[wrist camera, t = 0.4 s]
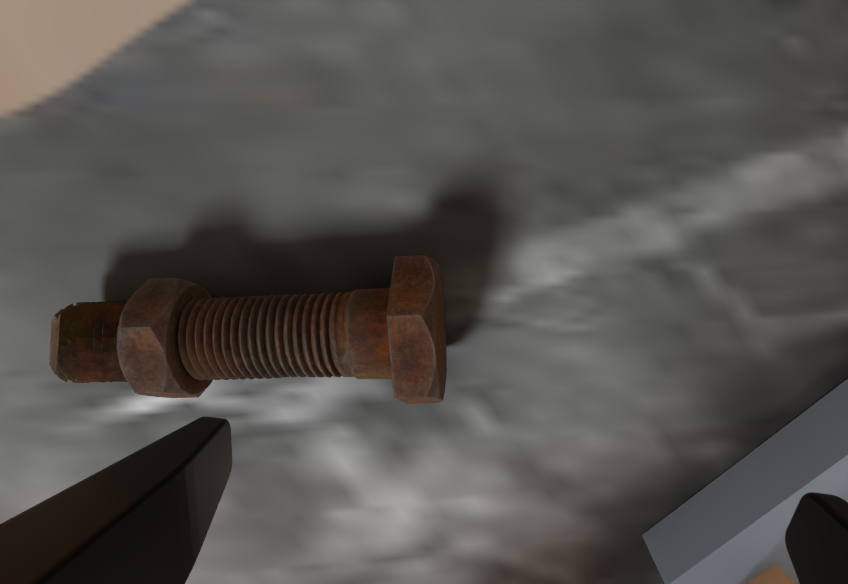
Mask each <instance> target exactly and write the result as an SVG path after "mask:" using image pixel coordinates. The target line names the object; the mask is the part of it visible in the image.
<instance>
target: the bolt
mask: <svg viewBox="0 0 848 584" xmlns="http://www.w3.org/2000/svg"><path fill="white" fill-rule="evenodd" d="M50 366H51V368H52V370H53V371H54V373H55V374H56V375H57V376H58V377H59V378H60V379H62V380H64V381H66V382H67V380H68V379H69V380H71V381H72V382H75V383H85V382H87V383H89V382H107V381H109V382H115V381H122V382H124V381H126V382H128V383H129V384H130V386H131V387H132V389H133V390H134V392H135V393H137V394H140V395H146V396H155V397H168V398H188V397H199V396H200V395H201V394H202V393H203V392H204V391H205V389H206V388H207V387H208V386H209V385H210V384H211V382H212V380H213V379H215V380H220V379H224V380H228V379H233V380H234V379H239V378H240V379H246V378H249V379H254V378H258V379H262V378H266V379H270V378H272V377H274V378H281V377H290V376H291V377H297V376H300V377H306V376H307V377H315V376H316V377H324V376H325V377H332V376H334V377H341V376H343V377H356V378H357V379H392V384H393V394H394V398H395V399H398V400H400V401H402V402H405V403H437V402H441V401H443V397H444V393H445V383H446V373H447V369H446V325H445V303H444V293H443V284H442V277H441V271H440V266H439V264H438V263H437V262H436V261H435V260H433V259H431V258H430V257H428V256H426V255H415V256H395V257H394V264H393V272H392V279H391V287H390V288H372V289H356V290H354V291H353V292H346V293H345V294H344V293H342V292H339V293H338V294H335V293H332V292H331V293H329V294H328V295H327V294H326V293H321V294H320V295H318V294H311V295H309V294H307V293H305V294H303V295H300V294H294V295H291V294H287V295H281V294H280V295H276V296H275V295H268V296H265V295H262V296H260V297H259V296H256V295H255V296H252V297H251V296H244V297H240V296H237V297H231V296H230V297H228V298H226V297H220V298H216V297H212V296H211V294H210V293H209V292H208V291H207V290H206V289H205V288H204V287H203V286H201V285H198V284H196V283H193V282H191V281H187V280H184V279H180V278H177V277H174V278H153V279H148V280H147V281H146V282H145V283H144V284H143V285H142V286H141V287H140V288H139V289H137V290H136V292H135V293H134V294H133V295H132V296H131V297H130V299H129V300H128V301H122V302H121V301H115V302H113V301H111V302H97V303H96V302H92V303H91V302H83V303H81V302H78V303H77V305H76V306H73V304H71V305H69V306H67V307H66V308H65V309H62V310H60V311H59V312H58V313H57V314H55V315H54V317H53V319H52V324H51V340H50Z"/></svg>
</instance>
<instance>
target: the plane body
mask: <svg viewBox="0 0 848 584" xmlns="http://www.w3.org/2000/svg"><path fill="white" fill-rule="evenodd" d="M809 492H815V493H823V494H831V495H835V496H838V497H840V498H842V499H843V500H845V501H847V502H848V379H847V380H845V381H844V382H843V383H841V384H840V385H839V386H837V387H836V388H835V389H833V390H832V391H831V392H829V393H828V394H827V395H826V396H824V397H823V398H822V399H820V400H819V401H818V402H816V403H815V404H814V405H812V406H811V407H810V408H808V409H807V410H806V411H804V412H803V413H802V414H801V415H799V416H798V417H797V418H795V419H794V420H793V421H791V422H790V423H789V424H787V425H786V426H785V427H783V428H782V429H781V430H779V431H778V432H777V433H776V434H774V435H773V436H772V437H770V438H769V439H768V440H766V441H765V442H764V443H762V444H761V445H760V446H758V447H757V448H756V449H755V450H753V451H752V452H751V453H749V454H748V455H747V456H745V457H744V458H743V459H741V460H740V461H739V462H737V463H736V464H735V465H733V466H732V467H731V468H730V469H728V470H727V471H726V472H724V473H723V474H722V475H720V476H719V477H718V478H716V479H715V480H714V481H712V482H711V483H710V484H708V485H707V486H706V487H705V488H703V489H702V490H701V491H699V492H698V493H697V494H695V495H694V496H693V497H691V498H690V499H689V500H687V501H686V502H685V503H684V504H682V505H681V506H680V507H678V508H677V509H676V510H674V511H673V512H672V513H670V514H669V515H668V516H666V517H665V518H664V519H662V520H661V521H660V522H659V523H657V524H656V525H655V526H653V527H652V528H651V529H649V530H648V531H647V532H645V533H644V534H643V535H642V537H643V539H644V541H645V543H646V545H647V547H648V550H649V552H650V554H651V556H652V558H653V560H654V562H655V565H656V567H657V569H658V571H659V573H660V575H661V578H662V580H663V582H664V584H800V583H799V581H798V578H797V575H796V573H795V570H794V567H793V565H792V562H791V559H790V557H789V554H788V551H787V548H786V544H785V533H786V529H787V527H788V525H789V523H790V521H791V518H792V516H793V514H794V512H795V510H796V508H797V505H798V503H799V501H800V499H801V497H802V496H803V495H804V494H806V493H809Z"/></svg>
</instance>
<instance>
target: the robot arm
mask: <svg viewBox="0 0 848 584" xmlns="http://www.w3.org/2000/svg"><path fill="white" fill-rule="evenodd" d="M231 468H232V444H231V427H230V424H229V422H228V421H227V420H226V419H221V418H213V417H201V418H199V419H197V420H195V421H193V422H191V423H189V424H187V425H186V426H184V427H182V428H180V429H178V430H176V431H174V432H172V433H170V434H169V435H167V436H165V437H163V438H161V439H159V440H157V441H155V442H154V443H152V444H150V445H148V446H146V447H144V448H142V449H140V450H139V451H137V452H135V453H133V454H131V455H129V456H127V457H125V458H124V459H122V460H120V461H118V462H116V463H114V464H112V465H110V466H109V467H107V468H105V469H103V470H101V471H99V472H97V473H95V474H94V475H92V476H90V477H88V478H86V479H84V480H82V481H80V482H79V483H77V484H75V485H73V486H71V487H69V488H67V489H65V490H64V491H62V492H60V493H58V494H56V495H54V496H52V497H50V498H49V499H47V500H45V501H43V502H41V503H39V504H37V505H35V506H34V507H32V508H30V509H28V510H26V511H24V512H22V513H20V514H19V515H17V516H15V517H13V518H11V519H9V520H7V521H5V522H4V523H2V524H0V584H185V582H186V580H187V578H188V576H189V574H190V572H191V570H192V568H193V566H194V564H195V562H196V559H197V557H198V554H199V552H200V550H201V547H202V545H203V542H204V540H205V537H206V534H207V532H208V529H209V527H210V524H211V522H212V519H213V517H214V514H215V512H216V509H217V507H218V504H219V502H220V499H221V496H222V494H223V491H224V489H225V486H226V484H227V481H228V479H229V476H230V473H231ZM785 544H786V548H787V551H788V554H789V557H790V559H791V562H792V565H793V567H794V570H795V573H796V575H797V578H798V581H799V583H800V584H848V502H847V501H845V500H843V499H842V498H840V497H838V496H835V495H831V494H823V493H815V492H809V493H806V494H804V495H803V496H802V497H801V499H800V501H799V503H798V505H797V508H796V510H795V512H794V514H793V516H792V518H791V521H790V523H789V525H788V527H787V529H786V533H785Z"/></svg>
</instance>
